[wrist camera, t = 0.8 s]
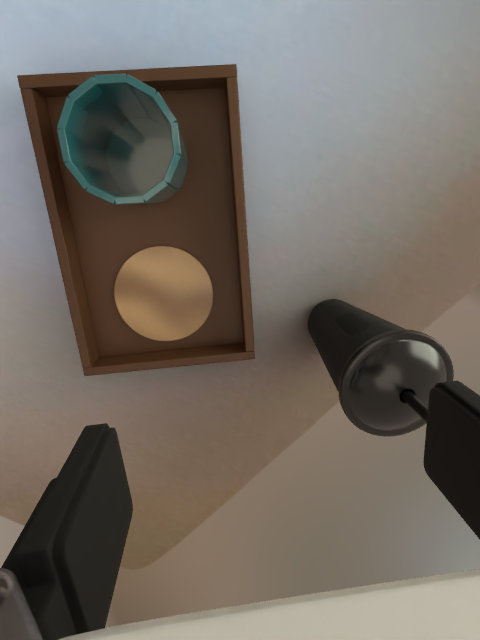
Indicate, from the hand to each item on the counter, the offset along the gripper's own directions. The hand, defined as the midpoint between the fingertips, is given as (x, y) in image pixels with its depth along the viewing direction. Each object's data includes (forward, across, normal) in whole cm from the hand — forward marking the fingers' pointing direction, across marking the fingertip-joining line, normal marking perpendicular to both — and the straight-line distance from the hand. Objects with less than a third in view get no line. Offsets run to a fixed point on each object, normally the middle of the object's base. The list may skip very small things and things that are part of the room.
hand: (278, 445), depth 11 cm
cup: (+24, +6, -11) cm, 27 cm away
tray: (+25, +6, -5) cm, 26 cm away
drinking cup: (+25, -10, +6) cm, 28 cm away
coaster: (+24, +6, +1) cm, 25 cm away
